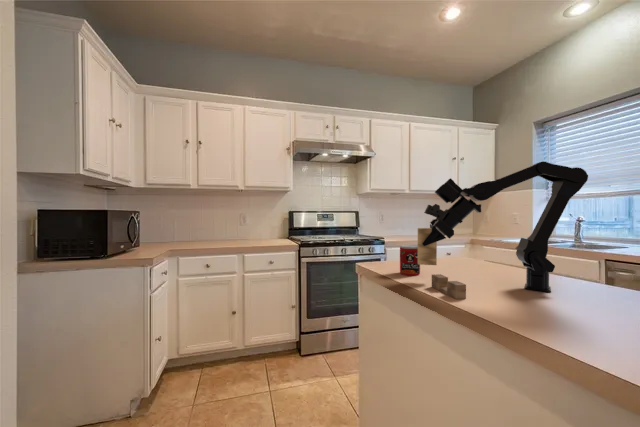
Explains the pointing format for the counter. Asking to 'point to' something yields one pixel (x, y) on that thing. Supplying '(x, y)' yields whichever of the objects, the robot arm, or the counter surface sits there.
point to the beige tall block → (426, 248)
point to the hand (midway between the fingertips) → (422, 244)
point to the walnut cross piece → (449, 286)
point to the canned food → (409, 260)
